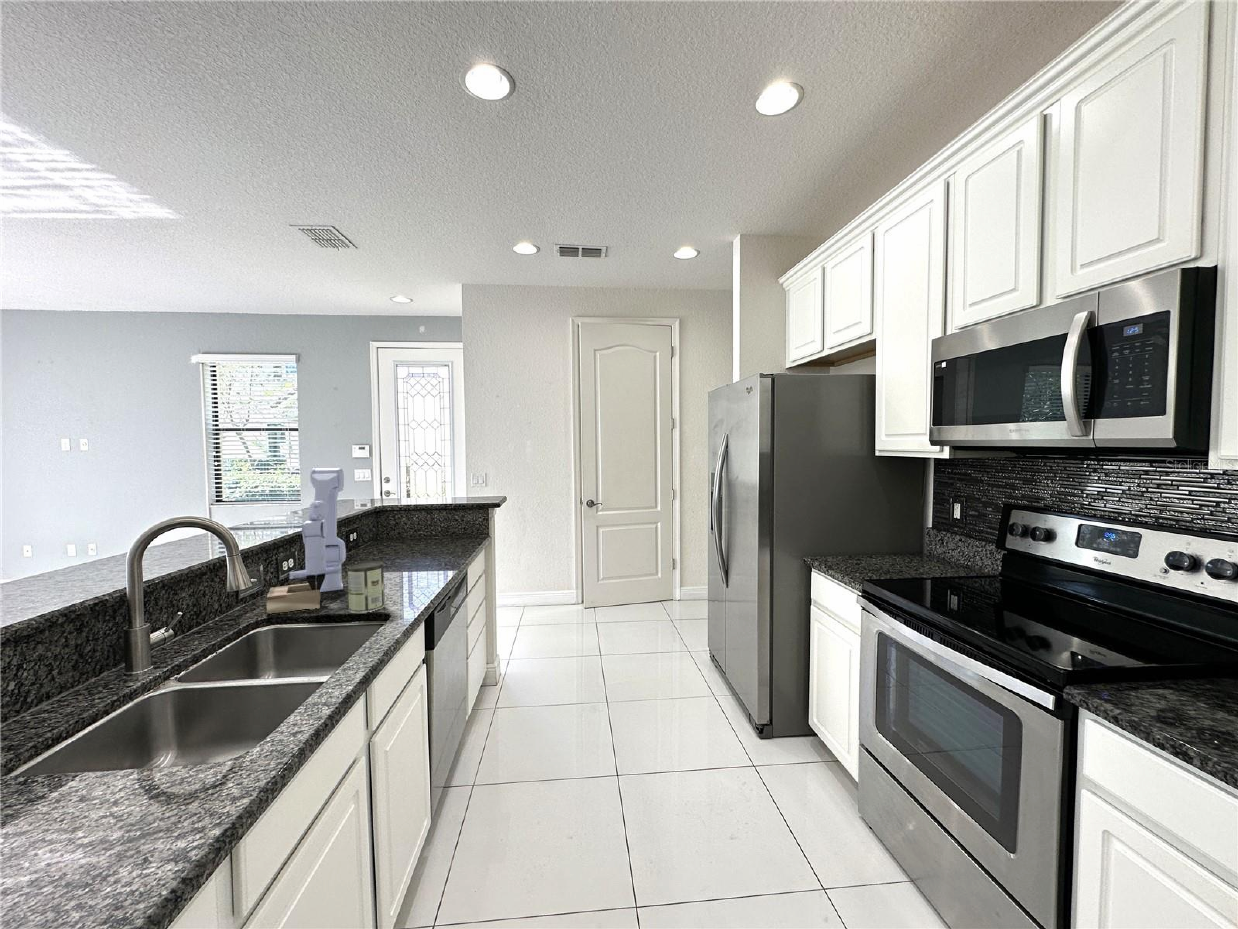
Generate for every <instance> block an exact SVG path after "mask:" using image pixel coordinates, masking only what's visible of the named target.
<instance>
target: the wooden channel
mask: <svg viewBox="0 0 1238 929" xmlns="http://www.w3.org/2000/svg"><path fill="white" fill-rule="evenodd" d="M307 590H311V591H307ZM299 591H304V592H299ZM290 592H296V593H290ZM320 600H321V592H320V593H319V590H317V581H316V590H312V589H311V587H310V585H309V584H308V582H307V583H300V584H292V585H284V586H283V585H282V586H275V587H270V588H269V591H268V593H267V596H266V614H267V613H278V612H288V611H295V610H302V609H310V610H316V609H315V608H317V609H320V608H321V604H320V602H321V601H320ZM302 611H303V610H302ZM295 612H296V611H295ZM288 613H289V612H288Z"/></svg>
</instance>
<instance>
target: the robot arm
mask: <svg viewBox="0 0 1238 929" xmlns="http://www.w3.org/2000/svg"><path fill="white" fill-rule="evenodd" d="M310 482H311V485H312V487H313V489H314V491H315V492H314V501H313V502H311V503H310V504H309V507H308V511H307V517H306V521H305V522H303V523H302V525H301V535H302V540H303V541H302V542H303V544H304V551H305V552H304V554H305V555H304V556H305V557H304V559H305V560H304V561H305V569H303V570H302V569H301V570H297V571H290V572H289V580H294V579H300V578H305V579H306V582H307V583H308V584H309V585H310V587H311V589H312V590H316V582H317V590H319V593H320V594H321V593H324V592H331V591H332V592H333V591H340V590H343V589H344V586H343V582H342V564H343V563H344V562H345V561H346V558H347V557H346V556H347V549H346V543H345V541H344V540H343V539H341V538H340V537H338V536H337V534H338V531H337V530H338V529H337V528H338V498H339V497H338V496H339V492H342V491H343V490H344V485H345V475H344V470H343V468H342V467H335V468H333V467H332V468H331V467H329V468H328V467H326V468H316V467H313V468H312V469H311V471H310Z"/></svg>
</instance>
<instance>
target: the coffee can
mask: <svg viewBox="0 0 1238 929" xmlns="http://www.w3.org/2000/svg"><path fill="white" fill-rule="evenodd" d="M346 568H347V569H346V570H347V583H348V585H347V586H348V587H347V588H348V593H347V594H348V612H349V613H351V614H368V613H367V612H370V611H373V610H377V609H380V610H382V609H384V608H385V592H384V591H385V590H384V589H385V588H384V562H382V561H378V560H377V561H376V560H375V561H374V560H373V561H372V560H370V561H361V562H354V563H352V564H349V565H347V566H346ZM383 607H384V608H383ZM370 613H371V612H370Z"/></svg>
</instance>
